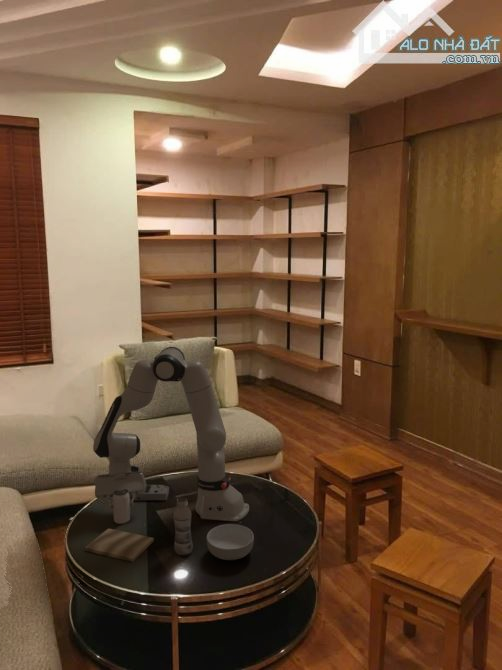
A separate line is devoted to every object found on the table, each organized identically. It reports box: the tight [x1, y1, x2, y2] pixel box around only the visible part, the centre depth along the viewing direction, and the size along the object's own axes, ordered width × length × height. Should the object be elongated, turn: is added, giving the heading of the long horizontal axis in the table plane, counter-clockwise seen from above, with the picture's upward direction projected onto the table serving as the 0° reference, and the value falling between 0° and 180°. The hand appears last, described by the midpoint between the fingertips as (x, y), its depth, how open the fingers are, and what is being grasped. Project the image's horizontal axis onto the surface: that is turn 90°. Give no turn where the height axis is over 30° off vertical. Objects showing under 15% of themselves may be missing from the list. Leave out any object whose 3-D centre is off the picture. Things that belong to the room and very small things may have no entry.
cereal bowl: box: [206, 523, 255, 561], centre depth 185 cm, size 17×17×7 cm
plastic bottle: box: [172, 497, 194, 556], centre depth 185 cm, size 6×7×20 cm
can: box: [112, 489, 131, 525], centre depth 209 cm, size 6×6×12 cm
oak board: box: [84, 528, 155, 562], centre depth 192 cm, size 20×14×1 cm
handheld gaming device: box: [134, 484, 170, 501], centre depth 230 cm, size 9×15×4 cm, turn 89°
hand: (121, 505), depth 208 cm, fingers closed on can, 6 cm apart
